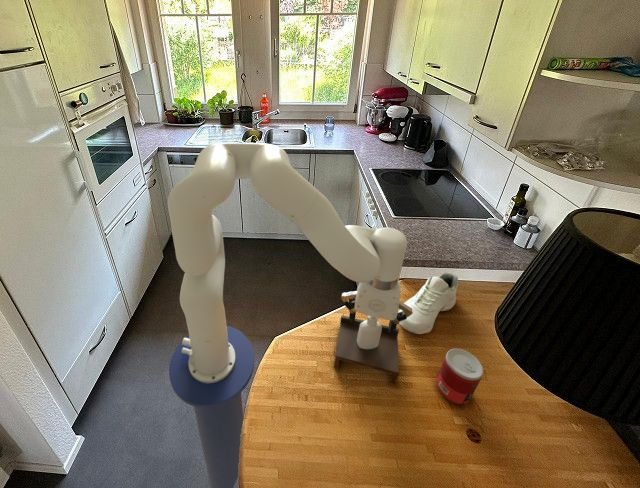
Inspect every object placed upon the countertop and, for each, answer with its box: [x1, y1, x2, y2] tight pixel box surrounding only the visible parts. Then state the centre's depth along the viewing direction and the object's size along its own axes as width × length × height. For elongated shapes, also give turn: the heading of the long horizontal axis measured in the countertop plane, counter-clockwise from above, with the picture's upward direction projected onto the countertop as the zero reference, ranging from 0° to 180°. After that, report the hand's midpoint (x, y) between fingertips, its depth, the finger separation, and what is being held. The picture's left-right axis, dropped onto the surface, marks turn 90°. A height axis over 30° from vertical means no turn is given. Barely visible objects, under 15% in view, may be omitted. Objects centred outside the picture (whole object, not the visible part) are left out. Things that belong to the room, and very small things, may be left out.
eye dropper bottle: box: [357, 315, 382, 349], centre depth 86 cm, size 4×6×12 cm
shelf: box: [333, 315, 400, 385], centre depth 89 cm, size 16×12×7 cm
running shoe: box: [398, 272, 459, 335], centre depth 101 cm, size 11×27×14 cm, turn 130°
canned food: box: [436, 348, 484, 405], centre depth 80 cm, size 8×8×11 cm
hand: (371, 324), depth 85 cm, fingers open, 9 cm apart
